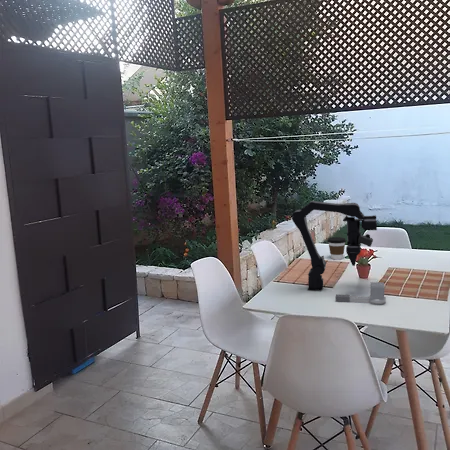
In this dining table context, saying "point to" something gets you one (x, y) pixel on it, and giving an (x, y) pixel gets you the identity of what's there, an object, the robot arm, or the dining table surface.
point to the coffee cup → (336, 247)
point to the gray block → (377, 290)
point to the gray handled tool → (358, 299)
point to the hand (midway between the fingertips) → (353, 263)
